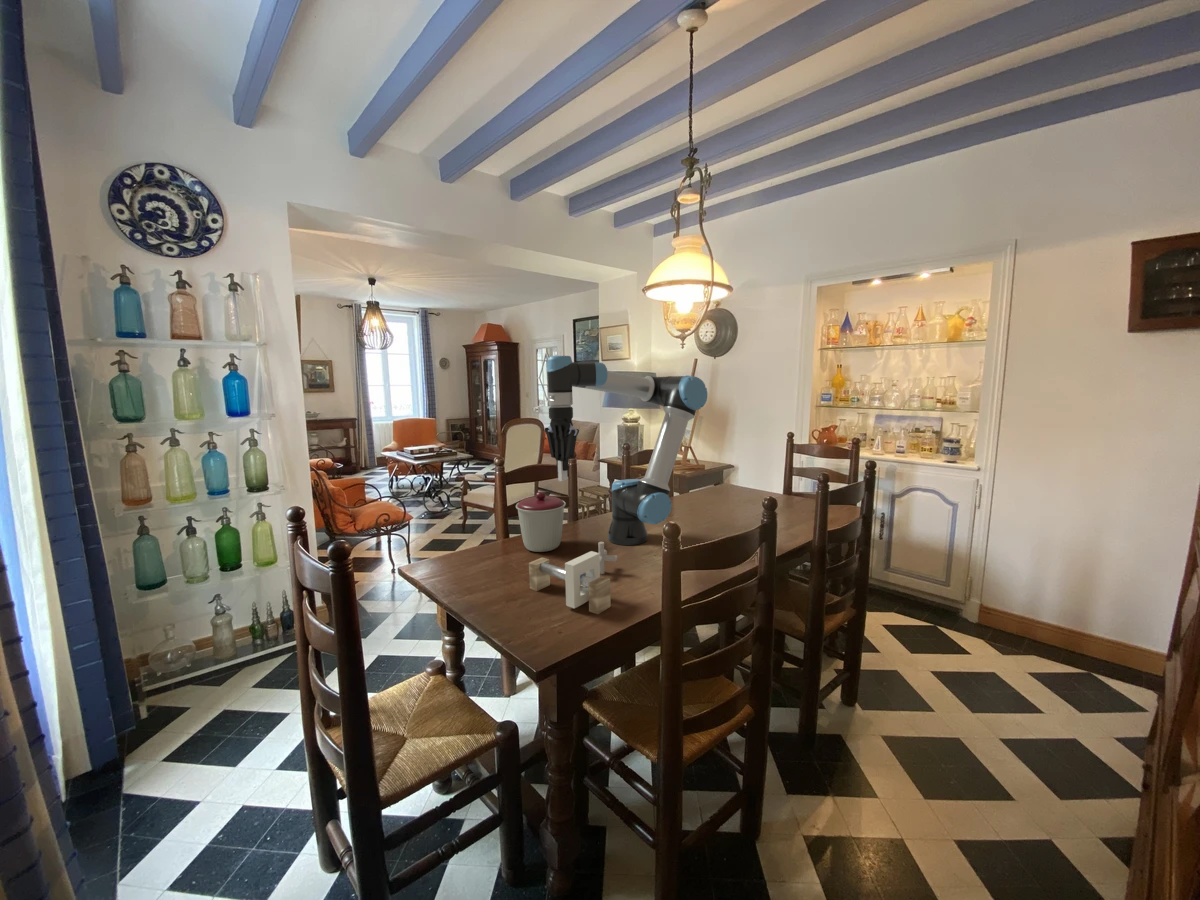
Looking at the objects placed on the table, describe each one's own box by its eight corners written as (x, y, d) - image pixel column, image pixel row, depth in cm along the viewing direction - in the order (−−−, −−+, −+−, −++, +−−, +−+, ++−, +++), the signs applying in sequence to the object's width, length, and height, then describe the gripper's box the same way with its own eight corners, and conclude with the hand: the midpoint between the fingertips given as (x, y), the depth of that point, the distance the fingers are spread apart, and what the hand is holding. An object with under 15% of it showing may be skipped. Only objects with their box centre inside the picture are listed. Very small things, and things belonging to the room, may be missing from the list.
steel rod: (533, 572, 141) (532, 561, 141) (541, 568, 144) (540, 558, 143) (598, 595, 126) (598, 583, 125) (606, 590, 128) (606, 579, 128)
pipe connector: (614, 580, 146) (614, 549, 144) (582, 578, 148) (582, 547, 146) (619, 567, 156) (619, 538, 154) (590, 565, 158) (589, 536, 156)
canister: (532, 560, 163) (530, 500, 160) (509, 546, 177) (506, 491, 174) (576, 548, 174) (575, 492, 170) (551, 536, 188) (549, 483, 185)
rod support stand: (529, 588, 141) (528, 563, 140) (543, 582, 145) (542, 557, 144) (597, 614, 125) (597, 585, 124) (610, 606, 129) (610, 578, 128)
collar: (566, 605, 128) (564, 563, 126) (592, 590, 137) (591, 551, 135) (574, 608, 126) (573, 565, 125) (600, 593, 135) (599, 553, 133)
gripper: (537, 406, 149) (540, 480, 153) (567, 407, 141) (570, 485, 145) (554, 405, 155) (556, 476, 159) (584, 406, 147) (586, 480, 150)
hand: (562, 480), depth 152 cm, fingers closed
